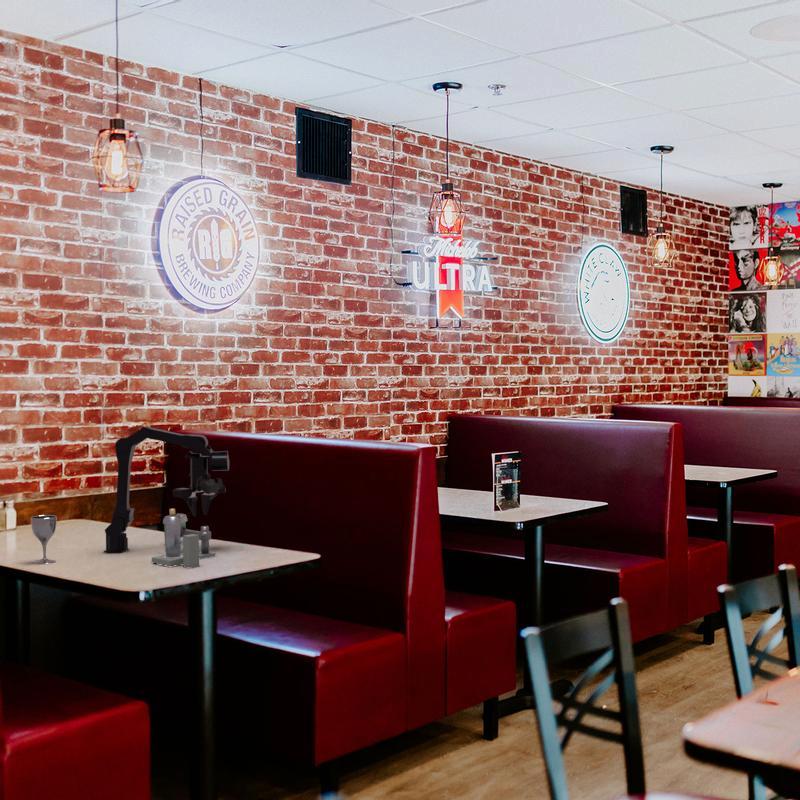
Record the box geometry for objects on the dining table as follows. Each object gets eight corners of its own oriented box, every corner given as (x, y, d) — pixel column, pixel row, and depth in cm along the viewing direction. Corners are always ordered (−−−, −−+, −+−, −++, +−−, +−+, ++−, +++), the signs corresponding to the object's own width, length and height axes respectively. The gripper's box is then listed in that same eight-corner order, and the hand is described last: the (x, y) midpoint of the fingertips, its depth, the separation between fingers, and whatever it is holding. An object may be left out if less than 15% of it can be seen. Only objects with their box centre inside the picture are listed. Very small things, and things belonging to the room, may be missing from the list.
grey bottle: (166, 558, 321) (165, 510, 321) (164, 555, 326) (163, 508, 325) (181, 556, 323) (180, 509, 323) (179, 554, 327) (178, 507, 327)
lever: (174, 548, 344) (173, 523, 344) (184, 547, 347) (183, 522, 347) (203, 554, 333) (203, 527, 333) (213, 552, 336) (213, 526, 336)
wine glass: (62, 560, 331) (61, 515, 331) (46, 564, 324) (45, 518, 323) (42, 559, 334) (41, 514, 333) (26, 563, 326) (25, 517, 326)
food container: (179, 546, 357) (178, 518, 357) (163, 545, 358) (162, 518, 358) (193, 540, 369) (192, 513, 369) (177, 540, 370) (177, 513, 370)
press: (151, 563, 324) (151, 532, 324) (205, 554, 340) (205, 525, 340) (180, 569, 313) (180, 537, 313) (235, 559, 329) (234, 529, 329)
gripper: (190, 474, 335) (191, 520, 336) (235, 470, 349) (235, 514, 350) (171, 472, 343) (172, 517, 343) (215, 468, 357) (216, 512, 357)
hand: (199, 515), depth 348 cm, fingers open, 4 cm apart
